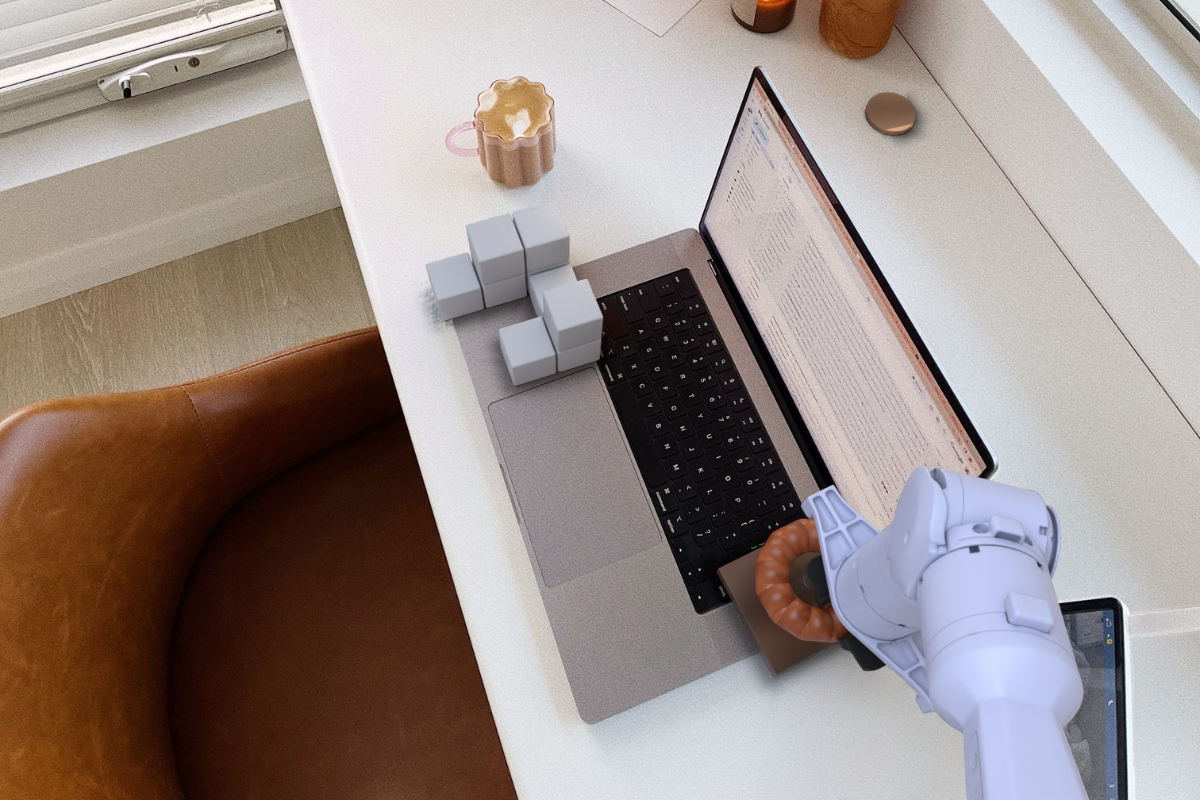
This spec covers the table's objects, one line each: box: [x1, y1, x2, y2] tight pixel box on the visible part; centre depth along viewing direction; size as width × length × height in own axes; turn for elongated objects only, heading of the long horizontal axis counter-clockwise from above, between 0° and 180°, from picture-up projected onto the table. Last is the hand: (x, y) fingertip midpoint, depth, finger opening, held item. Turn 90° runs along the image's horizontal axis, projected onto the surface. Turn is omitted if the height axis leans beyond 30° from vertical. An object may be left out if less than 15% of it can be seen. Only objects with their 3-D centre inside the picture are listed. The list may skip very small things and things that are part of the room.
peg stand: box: [716, 546, 839, 677], centre depth 70 cm, size 9×9×7 cm
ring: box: [756, 518, 851, 643], centre depth 66 cm, size 9×9×2 cm
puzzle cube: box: [425, 200, 604, 387], centre depth 78 cm, size 12×12×8 cm
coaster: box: [864, 91, 917, 136], centre depth 92 cm, size 5×5×1 cm
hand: (840, 618), depth 65 cm, fingers closed on ring, 2 cm apart
